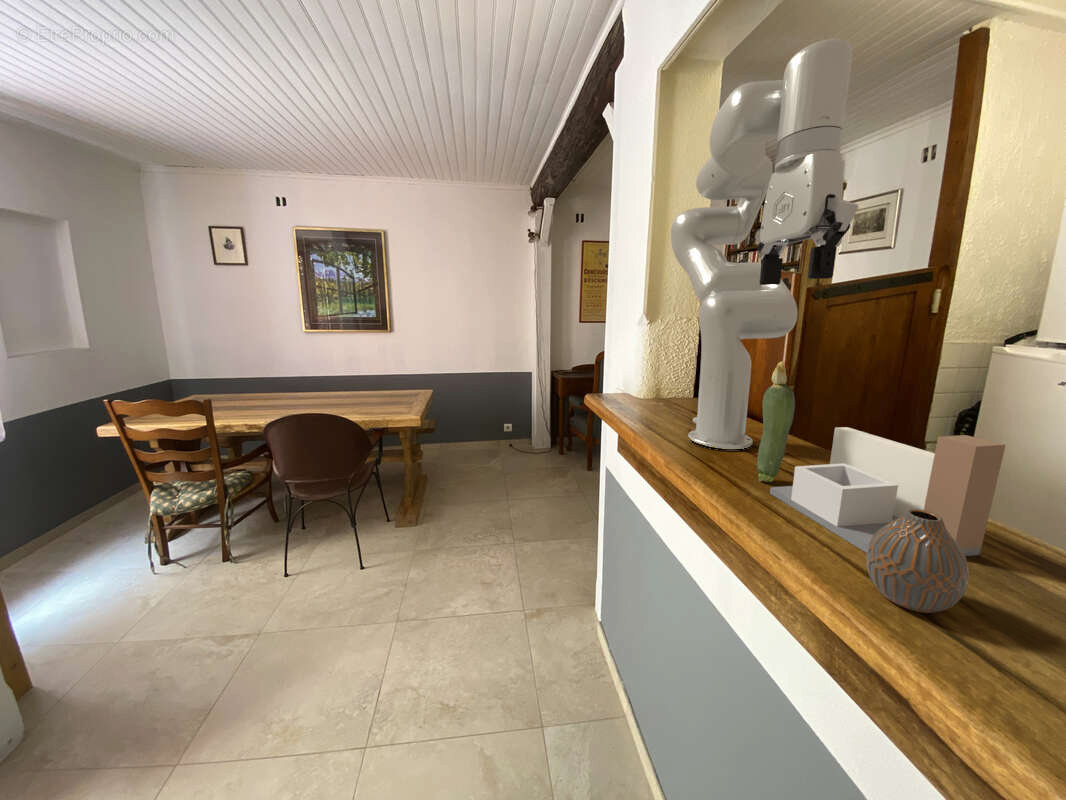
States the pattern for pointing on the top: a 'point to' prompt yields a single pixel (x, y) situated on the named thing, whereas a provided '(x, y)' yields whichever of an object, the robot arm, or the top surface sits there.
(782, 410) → the vegetable
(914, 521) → the vase
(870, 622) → the top surface
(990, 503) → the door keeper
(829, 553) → the top surface
